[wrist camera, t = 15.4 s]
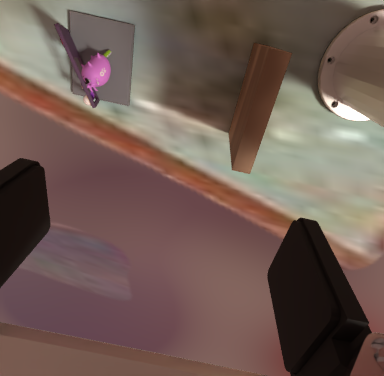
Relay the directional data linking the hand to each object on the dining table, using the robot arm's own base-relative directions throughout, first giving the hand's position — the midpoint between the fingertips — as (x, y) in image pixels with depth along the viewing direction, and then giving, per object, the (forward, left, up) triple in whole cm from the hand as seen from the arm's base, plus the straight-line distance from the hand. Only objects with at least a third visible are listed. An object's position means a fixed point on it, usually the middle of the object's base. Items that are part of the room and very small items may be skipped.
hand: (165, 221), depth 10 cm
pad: (+14, 0, -30) cm, 33 cm away
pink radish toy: (+14, 0, -30) cm, 33 cm away
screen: (-6, 0, -30) cm, 31 cm away
